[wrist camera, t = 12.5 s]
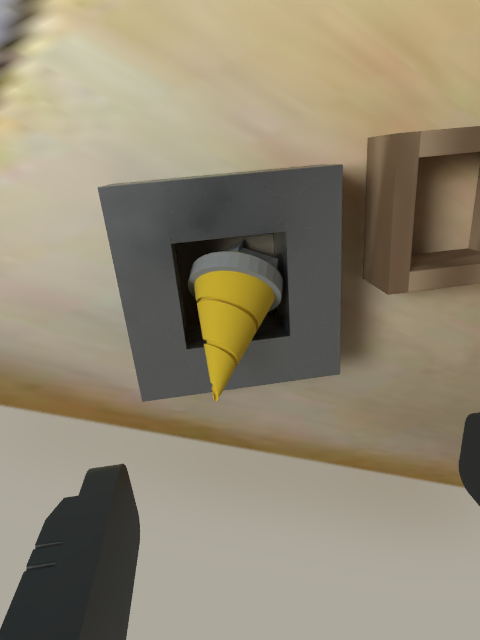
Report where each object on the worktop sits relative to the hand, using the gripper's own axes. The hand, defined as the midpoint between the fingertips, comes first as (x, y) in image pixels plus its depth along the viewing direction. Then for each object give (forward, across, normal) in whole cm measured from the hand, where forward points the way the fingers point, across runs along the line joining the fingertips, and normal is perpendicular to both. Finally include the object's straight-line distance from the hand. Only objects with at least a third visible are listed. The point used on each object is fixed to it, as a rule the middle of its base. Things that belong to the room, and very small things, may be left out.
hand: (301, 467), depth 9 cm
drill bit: (+17, 0, +1) cm, 17 cm away
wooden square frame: (+17, -13, -3) cm, 21 cm away
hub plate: (+17, 0, 0) cm, 17 cm away
